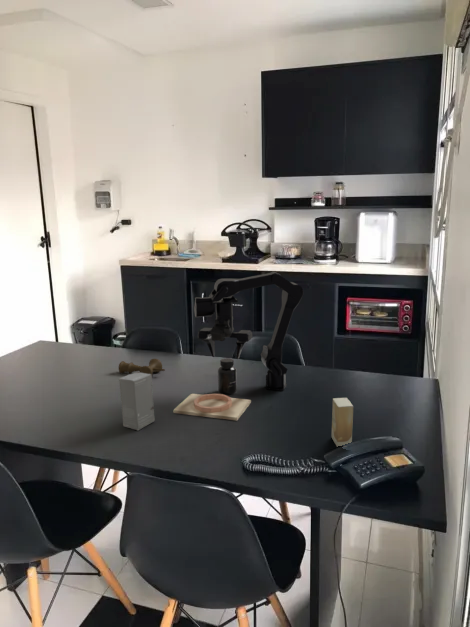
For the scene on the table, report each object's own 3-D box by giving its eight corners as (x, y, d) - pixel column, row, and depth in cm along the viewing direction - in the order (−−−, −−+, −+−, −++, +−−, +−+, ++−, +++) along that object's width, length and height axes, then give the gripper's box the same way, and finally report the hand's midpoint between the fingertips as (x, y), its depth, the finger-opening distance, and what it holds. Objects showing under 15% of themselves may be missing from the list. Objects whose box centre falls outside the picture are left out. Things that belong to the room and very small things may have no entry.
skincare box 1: (138, 431, 153) (134, 382, 149) (120, 426, 156) (117, 378, 153) (156, 421, 160) (153, 373, 156) (139, 416, 163) (136, 370, 160)
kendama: (127, 370, 211) (171, 372, 205) (115, 378, 202) (160, 381, 196) (126, 356, 210) (169, 358, 203) (113, 364, 201) (158, 366, 194)
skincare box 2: (331, 437, 146) (331, 397, 144) (345, 436, 147) (346, 396, 144) (337, 447, 140) (338, 406, 137) (352, 446, 140) (353, 405, 138)
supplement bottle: (234, 395, 179) (234, 363, 176) (216, 394, 180) (215, 362, 178) (238, 388, 186) (238, 357, 183) (220, 387, 187) (219, 356, 184)
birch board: (250, 402, 173) (250, 399, 172) (237, 420, 159) (237, 417, 159) (191, 396, 179) (191, 393, 179) (173, 412, 166) (173, 410, 165)
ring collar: (236, 399, 173) (236, 395, 172) (224, 414, 161) (223, 409, 161) (202, 396, 177) (202, 392, 176) (188, 410, 165) (188, 405, 165)
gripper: (190, 319, 172) (192, 362, 176) (242, 321, 166) (243, 367, 169) (203, 312, 182) (204, 353, 186) (252, 314, 176) (253, 357, 180)
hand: (225, 357), depth 180 cm, fingers open, 9 cm apart
